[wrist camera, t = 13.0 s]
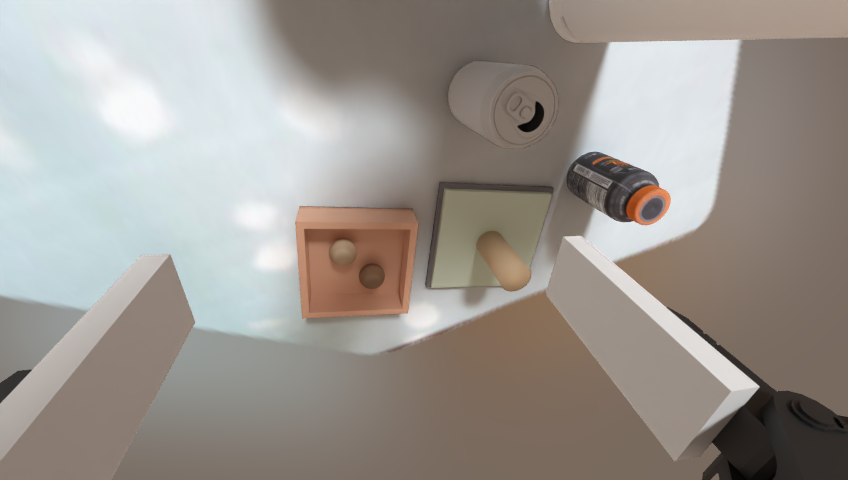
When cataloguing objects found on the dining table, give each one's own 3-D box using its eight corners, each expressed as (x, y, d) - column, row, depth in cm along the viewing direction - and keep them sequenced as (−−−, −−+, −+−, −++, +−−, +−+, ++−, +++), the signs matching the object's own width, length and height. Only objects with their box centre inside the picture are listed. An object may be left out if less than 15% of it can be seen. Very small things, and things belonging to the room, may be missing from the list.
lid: (444, 188, 40) (467, 220, 33) (549, 192, 44) (591, 222, 36) (430, 284, 47) (446, 329, 39) (522, 281, 50) (553, 322, 43)
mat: (439, 182, 41) (440, 184, 40) (551, 187, 44) (553, 188, 43) (425, 284, 48) (426, 287, 47) (522, 281, 51) (524, 284, 51)
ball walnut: (358, 258, 43) (359, 273, 40) (384, 258, 43) (386, 272, 41) (358, 279, 44) (359, 294, 41) (382, 278, 45) (385, 294, 42)
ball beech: (329, 233, 40) (328, 247, 37) (356, 234, 41) (357, 247, 38) (329, 256, 42) (328, 271, 39) (356, 256, 42) (357, 271, 40)
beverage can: (478, 136, 39) (526, 167, 29) (433, 102, 36) (469, 124, 26) (514, 85, 37) (579, 100, 27) (470, 46, 34) (524, 45, 24)
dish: (299, 206, 38) (295, 221, 35) (412, 208, 41) (418, 223, 38) (305, 297, 45) (302, 318, 41) (403, 294, 48) (407, 313, 44)
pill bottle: (615, 154, 44) (692, 184, 34) (595, 197, 46) (662, 236, 37) (575, 147, 42) (645, 177, 32) (558, 192, 45) (617, 232, 35)
